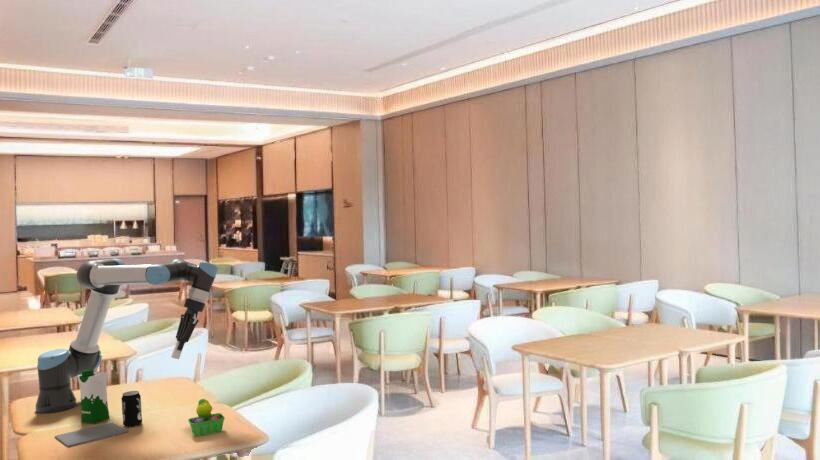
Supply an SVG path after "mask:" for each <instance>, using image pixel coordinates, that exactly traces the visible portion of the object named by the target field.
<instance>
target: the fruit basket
mask: <svg viewBox="0 0 820 460" xmlns="http://www.w3.org/2000/svg"><path fill="white" fill-rule="evenodd" d="M212 411H213V406H212V405H211V404H210V402H209V400H207V399H206V398H201V399H199V400H198V405H197V408H196V415H197V416H196V417H191V418H188V419H187V420H188V423H189V425H190V428H191V431H192V434H193V436H195V437H201V436H206V435H211V434H212V435H213V434H217V433H222V431H223V425H224V421H225V418H226V417H225V416H224V415H223V414H222V413H221V412H216V413H212Z"/></svg>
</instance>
